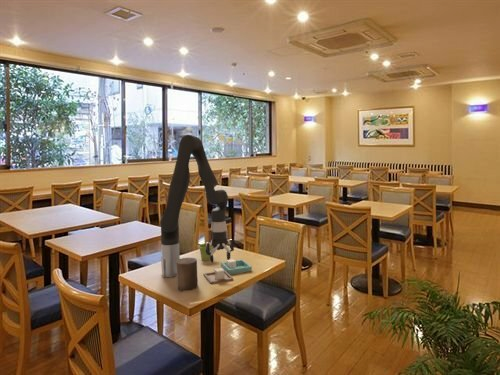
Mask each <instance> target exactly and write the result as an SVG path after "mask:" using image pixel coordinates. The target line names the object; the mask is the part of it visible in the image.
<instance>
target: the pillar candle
mask: <svg viewBox="0 0 500 375" xmlns="http://www.w3.org/2000/svg"><path fill="white" fill-rule="evenodd" d="M176 262H177V275H176V281H177V282H176V283H177V290H178V291H180V292H186V291H187V292H188V291H192V290H196V289H197V288H198V287H199V286H198V261H197V258H195V257H182V258H180V259H179V260H177V261H176Z"/></svg>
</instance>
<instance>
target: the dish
mask: <svg viewBox="0 0 500 375" xmlns="http://www.w3.org/2000/svg"><path fill="white" fill-rule="evenodd" d="M235 261H236V268H235V269H229V268H228V267H227V261H224V262H223V261H221V263H220V264H221V265H220V266H221V267H220V268H223V270H226V271H227V272H228V273H229V274H230V275H235V274H241V273H247V272H248V273H249V272H252V271H253V270H252V266H251V265H250V264H249V263H248V262H247V261H246V260H244V259H238V260H235Z"/></svg>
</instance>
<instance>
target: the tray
mask: <svg viewBox="0 0 500 375" xmlns="http://www.w3.org/2000/svg"><path fill="white" fill-rule="evenodd" d="M223 270H224V269H223ZM224 273H225V279H221V280H216V279H215V271H211V272H203V273H202V274H203V277H204V278H205V279H206V280H207V281H208V283H209V284H210V285H213V284H217V283H223V282H224V283H225V282H229V281H233V280H234V278H233V276H232V274H229V273H228V272H227V271H226V270H224Z"/></svg>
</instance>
